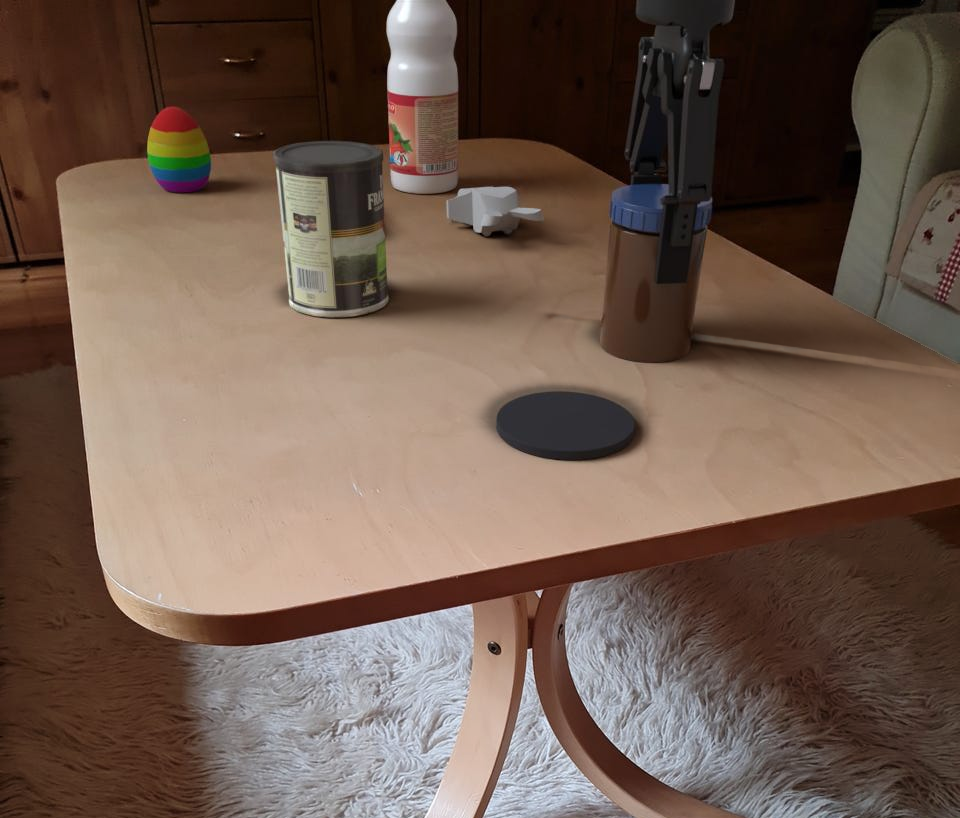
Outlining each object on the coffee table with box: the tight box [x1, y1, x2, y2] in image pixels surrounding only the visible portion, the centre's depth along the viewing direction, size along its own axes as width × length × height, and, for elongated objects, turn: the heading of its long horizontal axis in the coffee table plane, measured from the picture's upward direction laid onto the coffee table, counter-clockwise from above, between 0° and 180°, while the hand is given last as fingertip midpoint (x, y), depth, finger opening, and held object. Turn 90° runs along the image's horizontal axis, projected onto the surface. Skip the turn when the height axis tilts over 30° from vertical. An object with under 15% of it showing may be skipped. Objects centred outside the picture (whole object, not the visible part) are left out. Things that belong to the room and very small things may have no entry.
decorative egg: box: [146, 106, 212, 194], centre depth 136 cm, size 8×8×10 cm
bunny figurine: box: [445, 185, 545, 237], centre depth 123 cm, size 10×5×15 cm
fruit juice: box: [385, 0, 459, 195], centre depth 133 cm, size 9×9×28 cm
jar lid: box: [609, 183, 713, 233], centre depth 87 cm, size 9×9×2 cm
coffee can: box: [272, 140, 390, 318], centre depth 99 cm, size 10×10×14 cm
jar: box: [599, 219, 708, 363], centre depth 91 cm, size 8×8×13 cm
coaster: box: [495, 390, 636, 461], centre depth 80 cm, size 11×11×1 cm
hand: (654, 265), depth 90 cm, fingers closed on jar lid, 9 cm apart
